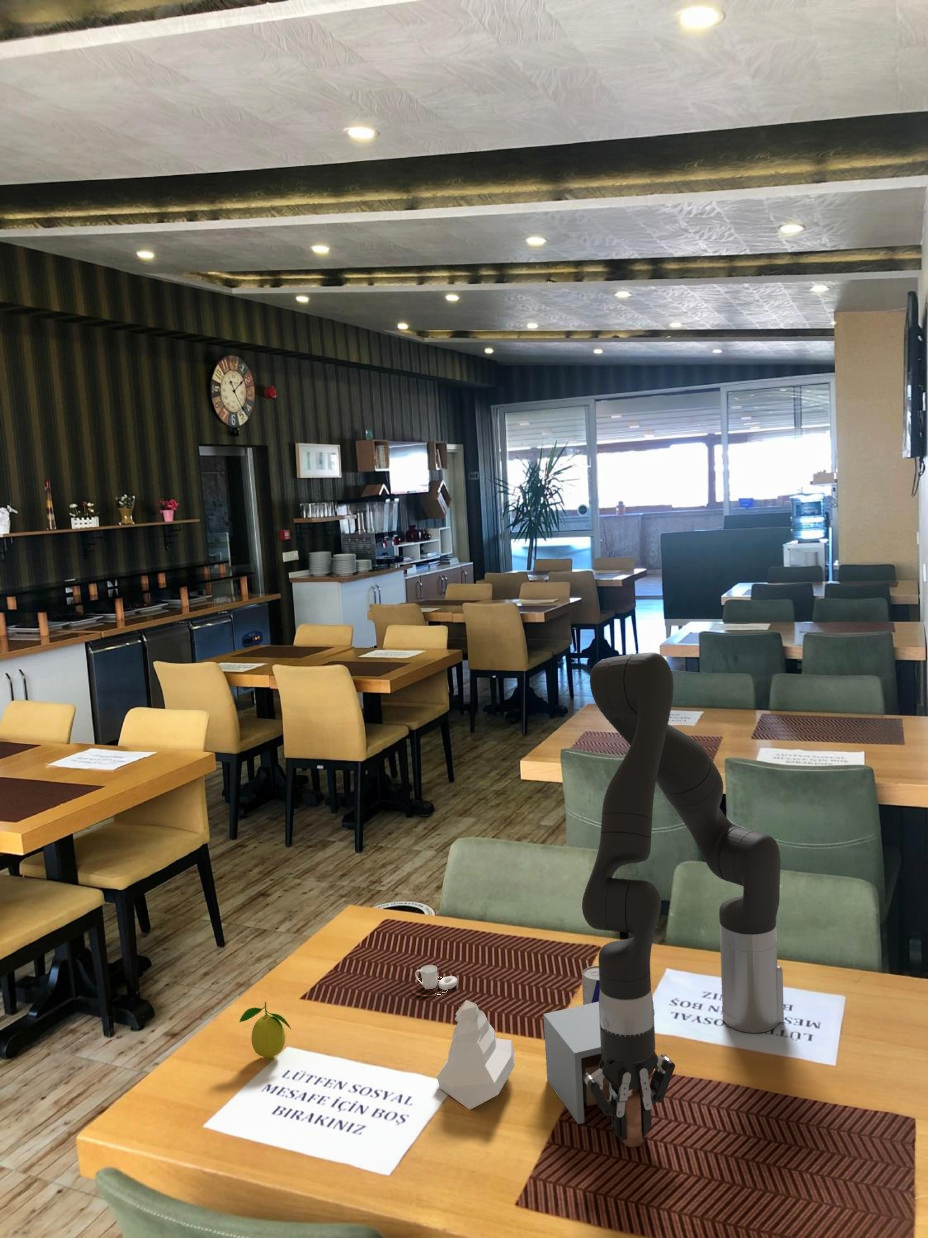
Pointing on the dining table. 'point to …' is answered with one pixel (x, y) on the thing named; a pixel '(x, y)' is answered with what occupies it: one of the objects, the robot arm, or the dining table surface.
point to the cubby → (571, 1052)
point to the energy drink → (590, 985)
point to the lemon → (266, 1032)
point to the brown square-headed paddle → (631, 1106)
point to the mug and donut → (435, 979)
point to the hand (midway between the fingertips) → (631, 1133)
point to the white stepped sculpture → (475, 1059)
